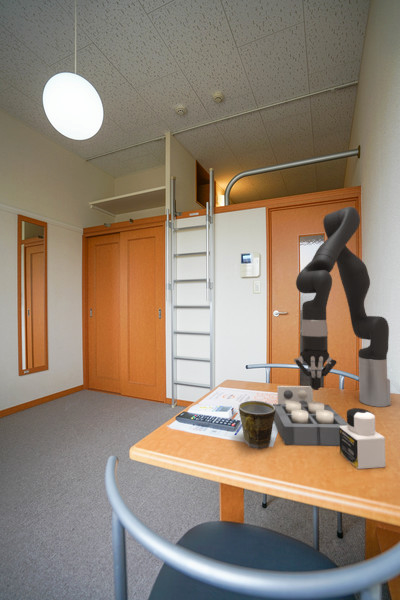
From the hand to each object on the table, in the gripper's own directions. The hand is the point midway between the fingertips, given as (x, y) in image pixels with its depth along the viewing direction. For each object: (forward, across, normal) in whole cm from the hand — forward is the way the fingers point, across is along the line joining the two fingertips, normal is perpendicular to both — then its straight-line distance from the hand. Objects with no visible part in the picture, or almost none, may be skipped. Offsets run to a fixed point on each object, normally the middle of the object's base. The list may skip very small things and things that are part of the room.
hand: (315, 389), depth 87 cm
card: (+12, +3, -12) cm, 17 cm away
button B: (+8, 0, +7) cm, 10 cm away
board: (+12, +3, +4) cm, 13 cm away
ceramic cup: (+12, +20, +13) cm, 27 cm away
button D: (+8, +7, +7) cm, 12 cm away
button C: (+8, +7, 0) cm, 10 cm away
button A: (+8, 0, 0) cm, 8 cm away
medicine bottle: (+12, -5, +18) cm, 23 cm away
